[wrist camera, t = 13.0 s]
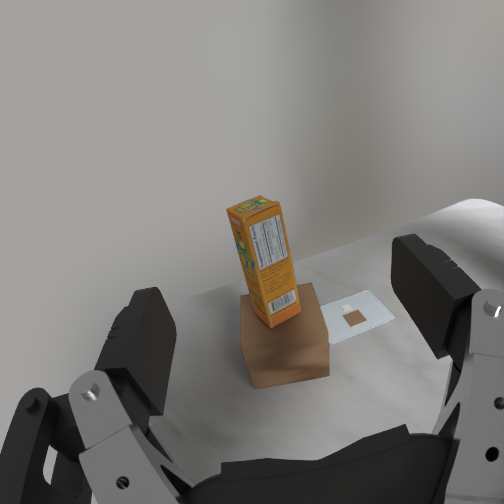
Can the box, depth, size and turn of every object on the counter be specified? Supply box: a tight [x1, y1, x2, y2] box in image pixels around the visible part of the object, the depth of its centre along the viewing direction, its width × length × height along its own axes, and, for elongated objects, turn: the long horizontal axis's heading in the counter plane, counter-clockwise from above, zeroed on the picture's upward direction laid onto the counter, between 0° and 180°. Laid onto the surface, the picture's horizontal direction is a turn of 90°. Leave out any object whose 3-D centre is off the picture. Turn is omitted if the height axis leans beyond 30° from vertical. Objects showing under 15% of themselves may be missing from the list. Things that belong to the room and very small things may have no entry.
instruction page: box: [320, 289, 395, 345], centre depth 32 cm, size 8×6×1 cm
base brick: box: [241, 283, 329, 389], centre depth 27 cm, size 7×7×6 cm
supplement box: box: [226, 196, 301, 328], centre depth 24 cm, size 3×3×10 cm
